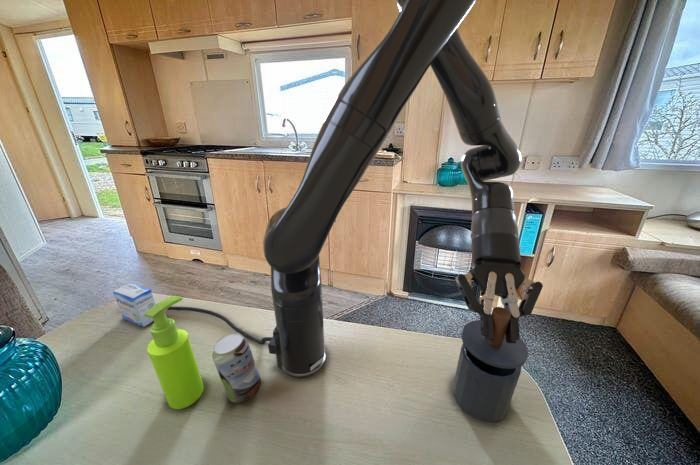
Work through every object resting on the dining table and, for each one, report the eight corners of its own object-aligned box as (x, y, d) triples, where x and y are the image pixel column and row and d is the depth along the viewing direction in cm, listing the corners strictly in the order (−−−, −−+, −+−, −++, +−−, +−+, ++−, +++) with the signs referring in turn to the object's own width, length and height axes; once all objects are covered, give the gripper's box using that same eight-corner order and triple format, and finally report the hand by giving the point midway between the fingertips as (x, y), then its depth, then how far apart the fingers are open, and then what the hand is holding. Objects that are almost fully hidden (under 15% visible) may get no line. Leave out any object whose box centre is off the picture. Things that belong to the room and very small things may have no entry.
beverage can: (251, 410, 49) (241, 361, 44) (215, 402, 50) (200, 353, 46) (268, 379, 55) (260, 332, 50) (234, 373, 56) (224, 327, 51)
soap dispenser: (214, 380, 55) (191, 297, 46) (185, 413, 49) (152, 325, 40) (191, 372, 56) (165, 290, 48) (160, 403, 50) (124, 316, 42)
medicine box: (123, 319, 70) (111, 291, 67) (140, 308, 74) (130, 281, 71) (143, 327, 68) (132, 299, 64) (161, 316, 72) (151, 288, 68)
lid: (467, 366, 43) (476, 330, 40) (455, 321, 52) (462, 290, 49) (537, 376, 41) (552, 339, 38) (513, 328, 50) (523, 296, 47)
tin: (457, 417, 48) (467, 374, 44) (449, 372, 56) (457, 332, 52) (514, 426, 47) (530, 383, 42) (497, 379, 55) (510, 339, 51)
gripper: (458, 227, 47) (459, 335, 41) (548, 234, 45) (563, 348, 39) (449, 242, 54) (448, 336, 48) (526, 248, 52) (536, 347, 46)
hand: (500, 341), depth 43 cm, fingers closed on lid, 2 cm apart
